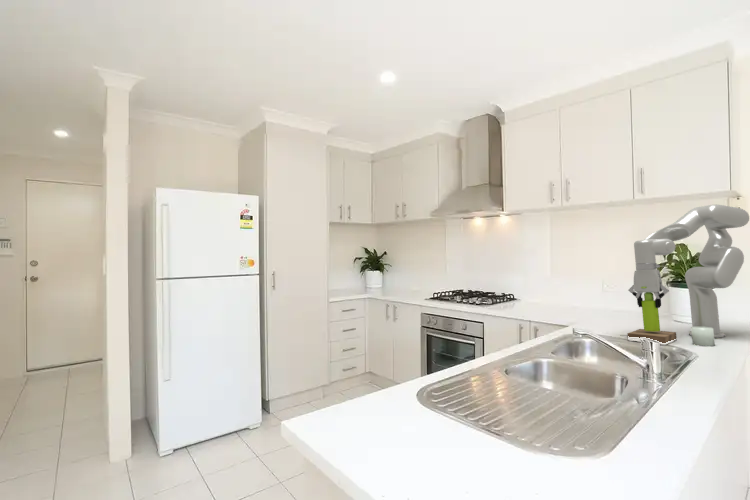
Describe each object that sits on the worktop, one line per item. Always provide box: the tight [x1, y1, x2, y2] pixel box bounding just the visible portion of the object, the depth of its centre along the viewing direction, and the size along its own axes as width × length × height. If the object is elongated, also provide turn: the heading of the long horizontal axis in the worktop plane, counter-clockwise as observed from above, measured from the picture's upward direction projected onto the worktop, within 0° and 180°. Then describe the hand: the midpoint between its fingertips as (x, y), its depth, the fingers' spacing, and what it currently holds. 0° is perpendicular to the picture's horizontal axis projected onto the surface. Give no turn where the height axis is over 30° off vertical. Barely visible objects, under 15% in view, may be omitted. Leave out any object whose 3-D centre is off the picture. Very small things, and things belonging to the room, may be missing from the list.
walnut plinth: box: [627, 328, 678, 343], centre depth 169 cm, size 14×14×4 cm
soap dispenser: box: [641, 287, 661, 331], centre depth 170 cm, size 6×7×20 cm
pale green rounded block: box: [690, 326, 716, 347], centre depth 158 cm, size 7×7×7 cm
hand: (649, 306), depth 170 cm, fingers closed on soap dispenser, 5 cm apart
